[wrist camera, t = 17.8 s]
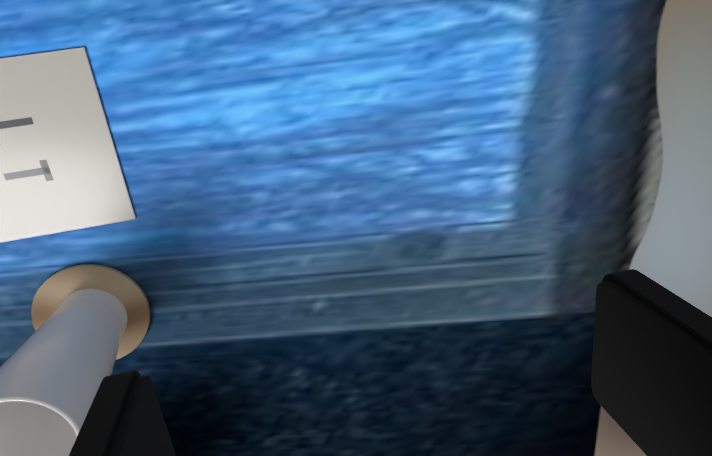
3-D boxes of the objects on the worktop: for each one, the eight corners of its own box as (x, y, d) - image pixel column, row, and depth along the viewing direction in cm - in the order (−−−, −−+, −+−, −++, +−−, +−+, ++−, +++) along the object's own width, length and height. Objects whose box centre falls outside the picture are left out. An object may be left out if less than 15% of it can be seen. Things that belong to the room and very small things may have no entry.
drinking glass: (30, 312, 42) (-79, 448, 28) (93, 261, 42) (12, 374, 28) (96, 363, 45) (25, 511, 31) (156, 316, 44) (110, 444, 30)
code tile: (-115, 74, 36) (-117, 74, 35) (84, 47, 37) (83, 47, 37) (-38, 248, 40) (-40, 249, 40) (135, 218, 42) (135, 219, 42)
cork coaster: (17, 275, 42) (14, 278, 41) (133, 254, 43) (132, 257, 42) (55, 368, 45) (53, 373, 44) (162, 347, 46) (161, 350, 46)
